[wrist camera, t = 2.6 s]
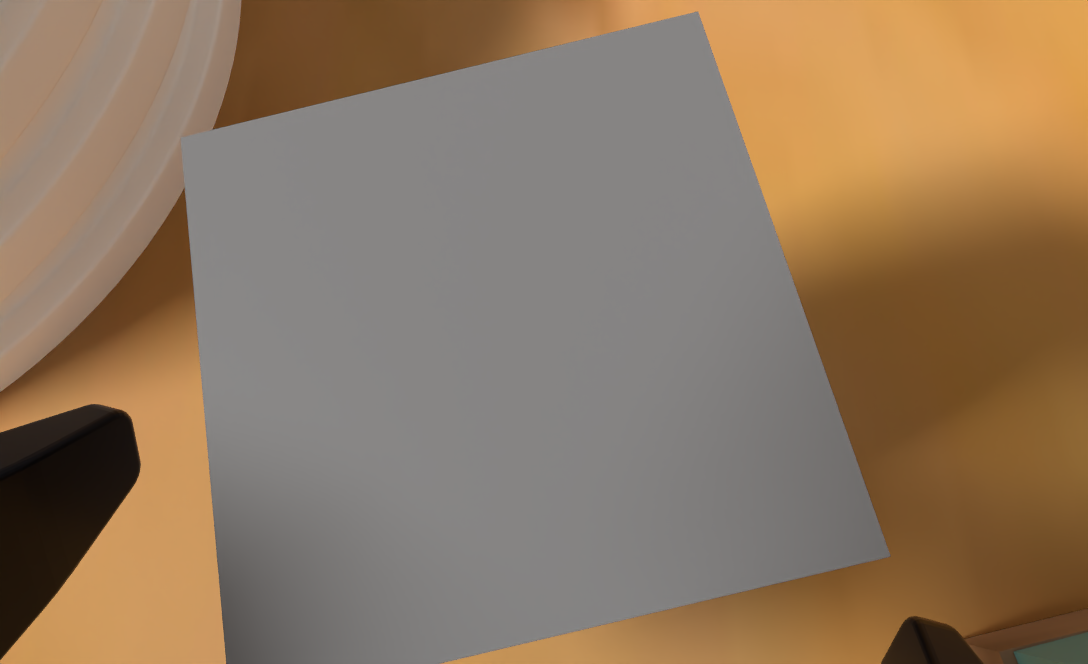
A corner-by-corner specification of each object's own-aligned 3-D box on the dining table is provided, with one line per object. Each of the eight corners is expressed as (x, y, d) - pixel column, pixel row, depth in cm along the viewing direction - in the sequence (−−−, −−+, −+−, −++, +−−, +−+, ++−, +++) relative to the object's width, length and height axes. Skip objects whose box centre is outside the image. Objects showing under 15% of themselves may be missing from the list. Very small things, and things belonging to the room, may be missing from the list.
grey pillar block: (483, 603, 17) (229, 713, 5) (444, 395, 18) (180, 137, 7) (694, 552, 17) (891, 555, 5) (638, 349, 18) (697, 11, 7)
